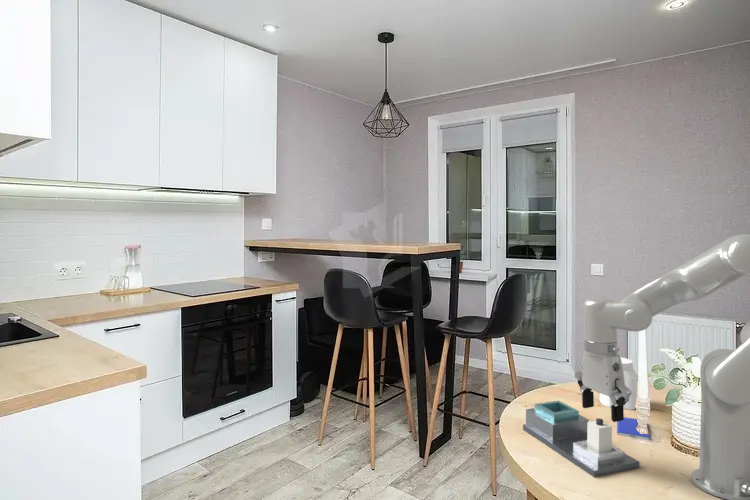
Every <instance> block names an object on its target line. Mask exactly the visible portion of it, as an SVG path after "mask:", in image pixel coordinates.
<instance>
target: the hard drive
mask: <svg viewBox="0 0 750 500" xmlns="http://www.w3.org/2000/svg"><path fill="white" fill-rule="evenodd" d="M637 419H638V418H632V417H627V416H624V419H623V420H622V421H617V422H616V435H617V436H622V437H623V436H624V437H629V438H635V439H639V438H641V440H646V441H650V434H649V435H648V434H640V433H639V432H638V431H637V430H636V427H637V426H638V422H637Z"/></svg>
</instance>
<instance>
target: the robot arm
mask: <svg viewBox="0 0 750 500" xmlns="http://www.w3.org/2000/svg"><path fill="white" fill-rule="evenodd" d="M746 276H750V234H746V233H743V234H737V235H736V234H735V235H734V236H731V237H729V238H726V239H725V240H723V241H722V242H720V243H718V244H717V245H715V246H713V247H711V248H709V249H708V250H706V251H704V252H702V253H701V254H699V255H697V256H695V257H694V258H692V259H690V260H689V261H687V262H685V263H683V264H681V265H680V266H677V267H676V268H675V269H672V270H671V271H669V272H667V273H665V274H664V275H662V276H661V277H659V278H657V279H654V280H653V281H651V282H649V283H648V284H646V285H644V286H642V287H640V288H639V289H637V290H635V291H634V292H631V293H630V294H628V295H627V296H625V297H624V298H623V299H622V300H620V301H614V299H610V298H607V297H605V298H604V297H590V298H587V299H585V301H584V302H583V334H584V336H583V338H584V339H583V341H584V342H583V343H584V350H583V351H582V352H583V353H582V361H581V370H579V371H577V372H575V376H576V377H575V379H576V380H577V384H578V386H579V387H580V388H579V391H580V393H581V399H582V400H581V401H582V402H581V405H582V406H581V407H582V408H583V409H589V408H594V406H595V400H594V398H595V397H594V392H597V393H599V394H600V393H601V394H604V395H607V396H609V397H610V399H611V401H612V403H613V405H611V407H610V413H611V414H610V415H611V421H612V422H614V423H617V421H622V420H623V419H624V417H625V416H624V415H625V414H624V411H625V409H623V405H625V404H626V402H628V401H629V398H630V396H631V393H632V392H631V391H630V390H629V389H628V388H627V387H626V386H625V383H624V372H623V366H622V361H621V358H620V357H621V355H620V354H618V353H619V350H620V349H619V347H618V330H623V331H627V332H642V331H645V330H646V329H648V328H649V327H650V326H651V324H652V322H653V318H654V317H655V316H657V315H658V314H660V313H662V312H664V311H666V310H668V309H670V308H672V307H674V306H676V305H680V304H682V303H687V302H693V301H697V300H698V301H699V300H701V299H704V298H707V297H708V296H710V295H712V294H715V293H716V292H717V291H719V290H720V289H722V288H724V287H726V286H728V285H730V284H732V283H733V282H736V281H738V280H739V279H742V278H744V277H746ZM739 339H740V343H741V344H739V346H738V347H736V348H735V349H734V350H732V349H729V348H716V349H715V350H712V351H710V352H708V353H707V354H706V355H705V356H704V357H703V359H702V361H701V364H700V370H699V371H700V373H699V374H700V395H701V396H700V399H701V400H700V401H701V403H700V404H701V405H700V432H699V433H700V435H699V436H700V437H699V438H700V440H699V468H697V469H694V470H692V472H691V474H690V475H691V478H690V479H691V481H692V483H693V484H694V485H695V486H697V488H699V489H700V490H702V491H704V492H706V493H708V494H710V495H712V496H715V497H718V498H721V499H724V500H750V320H749V321H748V322H747V323H746V324H745V325H744V326H743V327H742V329H741V330H740V333H739ZM621 394H622V395H621ZM615 396H617V398H618V399H617V400H616V398H615Z"/></svg>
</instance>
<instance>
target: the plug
mask: <svg viewBox="0 0 750 500" xmlns="http://www.w3.org/2000/svg"><path fill="white" fill-rule="evenodd" d="M595 419H596V420H593V421H592V420H591V421H589V422H587V448H588V449H590V450H592V451H593V452H595V453H597V454H603V453H608V452H612V445H613V444H612V442H613V441H612V440H613V426H612V425H610V424H608V423H606V422H604V420H603V418H595Z"/></svg>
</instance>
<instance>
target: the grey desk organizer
mask: <svg viewBox="0 0 750 500" xmlns="http://www.w3.org/2000/svg"><path fill="white" fill-rule="evenodd" d="M589 420H590V419H589V418H586V416H585V417H584V416H583V415H581V414H580V411H579V410H578V409H576V408H574V407H572V406H570V405H568V404H566V403H564V402H562V401H560V400H554V401H547V402H541V403H535V404H534V407H532V408H531V407H530V408H526V409H525V423H524V424H522V430H523V431H525V432H526V433H528V434H529V435H531V436H532V437H534V438H536V439H537V440H538V441H539V442H541V443H542V444H544V445H546V446H547V447H549V448H550V449H552V450H553V451H554V452H555V453H557V454H559V455H560V456H561V457H563V458H565V459H567V460H568V461H569V462H571V463H572V464H574V465H575V466H577V467H579V468H580V469H581V470H583V471H585V472H586V473H587V474H589V475H590V476H592V477H593V478H595V477H600V476H606V475H610V474H614V473H619V472H625V471H629V470H634V469H638V468H640V461H639V460H637V459H636V458H634V457H632V456H630V455H628V454H627V453H625V451H624V450H622V449H620V448H618V447H617V446H615V445H613V444H612V452H608V453H603V454H597V453H595V452H593V451H592V450H590V449H588V448H587V422H590V421H589Z"/></svg>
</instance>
